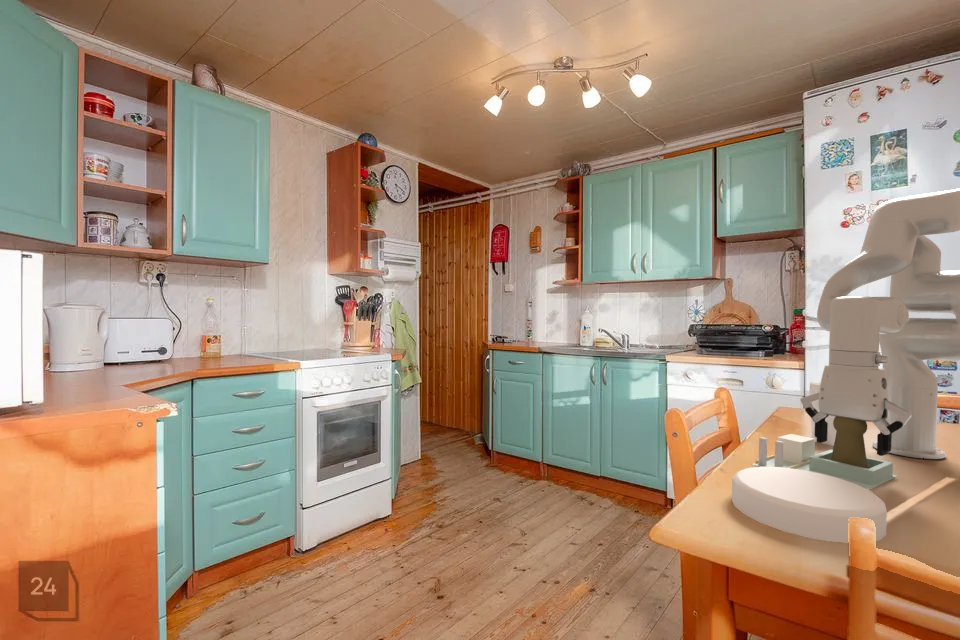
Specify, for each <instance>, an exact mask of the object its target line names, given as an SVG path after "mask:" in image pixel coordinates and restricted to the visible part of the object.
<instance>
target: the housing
mask: <svg viewBox="0 0 960 640" xmlns="http://www.w3.org/2000/svg"><path fill="white" fill-rule="evenodd" d="M776 441H782V442H784V446H783V460H785V461H789V462H793V463H797V464H799V463H802V462H805V461H808V460H809V457H810V456H813V455H816V454H815V453H816V452H815V451H816V442H815V439H814V438H812V437H809V436H803V435H798V434H794V433H789V434H786V435H785V434H783V435H781V436H777V440H776Z"/></svg>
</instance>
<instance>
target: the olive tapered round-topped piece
mask: <svg viewBox="0 0 960 640" xmlns="http://www.w3.org/2000/svg"><path fill="white" fill-rule="evenodd" d="M867 423H868V422H867V421H860V420H854V419H850V418H843V417H835V418H834V421H833V425H834V428H835V429H836V431H837V432H836V437H835V442H834V446H832V447H833V448H832V450H833V453H832V458H831V460H832V461H836V462H840V463H844V464H849V465H853V466H857V467H862V468H866V469H868V466H867V459H866V457H867V453H866V446H865V440H864V439H865V438H864V435H865V433H866V432H867V430H868V424H867Z"/></svg>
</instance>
